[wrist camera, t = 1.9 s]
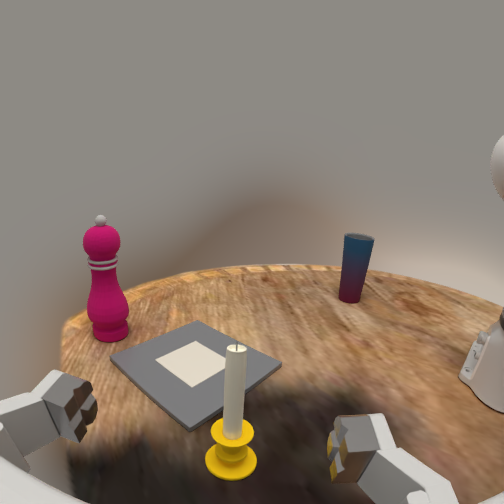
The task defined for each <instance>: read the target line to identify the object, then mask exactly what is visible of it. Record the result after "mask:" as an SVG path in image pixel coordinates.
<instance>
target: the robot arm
mask: <svg viewBox="0 0 504 504" xmlns="http://www.w3.org/2000/svg"><path fill="white" fill-rule="evenodd" d="M491 175H492V180H493V183H494V185H495V188H496V190H497V192H498V194H499V195H500V197H501V198H502V199H503V200H504V135H503V136H502V137H501V138H500V139H499V141H498V142H497V144H496V145H495V147H494V150H493V153H492V157H491ZM458 376H459V378H460V379H461V380H462V381H463V382H464V383H466V384H467V385H468V386H470V387H471V389H472V390H473V391H474V393H475V394H476V395H477V396H478V398H479V399H480V400H482V401H483V402H484V403H485V404H487V405H488V406H490V407H491V408H493V409H495V410H497V411H500V412H503V413H504V308H503V310H502V313H501V315H500V320H498V321H497V322H495V323H494V324H492V325H490V327H489V329H488V332H487V333H486V332H483V331H480V333H479V335H478V338H477V341H474V342H473V344H472V346H471V348H470V351H469V353H468V355H467V358H466V360H465V362H464V364H463V366H462V369H461V371H460V373H459V375H458ZM92 391H93V388H92V385H91V383H90V382H89V381H86V380H83V379H81V378H78V377H75V376H72V375H69V374H67V373H63V372H61V371H58V370H52V371H51V372H50V373H49V374H48V375H47V376H46V377H45V378H44V379H43V380H42V381H41V382H40V383H39V384H38V386H36V388H35V389H34V390H33V391H32V392H31V393H23V394H20V395H17V396H14V397H11V398H8V399H5V400H1V401H0V504H88V503H86V502H84V501H81V500H79V499H77V498H75V497H72V496H70V495H68V494H66V493H64V492H62V491H60V490H58V489H56V488H54V487H52V486H50V485H48V484H46V483H44V482H42V481H41V480H39V479H37V478H35V477H34V476H32V475H30V474H28V472H29V471H30V466H29V465H28V463H27V462H26V460H25V459H24V456H26V455H28V454H30V453H32V452H34V451H36V450H38V449H39V448H41V447H43V446H45V445H47V444H49V443H50V442H52V441H54V440H56V439H57V438H59V437H60V436H62V437H64V438H67V439H69V440H72V441H74V442H77V443H80V442H81V440H82V439H83V437H84V435H85V434H86V432H87V427H86V426H87V425H89V424H91V423H93V421H94V420H95V418H96V415H97V411H98V408H97V401H96V399H95V398H94V397H93V395H92V394H91V392H92ZM334 428H335V430H333V431H332V432H330V435H329V438H328V445H327V453H328V458H329V459H330V460H331V461H332V464H331V467H330V474H331V481H332V484H341V483H357V482H358V483H357V484H358V485H359V486H360V487H361V489H362V490H363V491H364V492H365V493H366V494H367V495H368V496H369V497H370V498H371V499H372V500H373V501H374V502H375V503H376V504H459V503H458V500H457V498H456V495H455V493H454V491H453V488H452V486H451V484H450V481H448V480H446V479H445V478H443V477H442V476H440V475H439V474H438V473H436V472H435V471H433V470H432V469H430V468H429V467H427V466H426V465H424V464H423V463H421V462H420V461H419V460H417V459H416V458H414V457H413V456H411V455H410V454H409V453H407V452H406V451H404V450H403V449H402V448H396V445H395V443H394V440H393V437H392V435H391V432H390V430H389V427H388V424H387V422H386V419H385V417H384V415H383V414H382V413H380V414H367V415H366V414H365V415H345V416H337V417H336V419H335V422H334ZM478 504H504V491H503V492H501V493H499V494H497V495H495V496H493V497H491V498H489V499H487V500H484V501H482V502H480V503H478Z"/></svg>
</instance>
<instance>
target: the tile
mask: <svg viewBox="0 0 504 504" xmlns="http://www.w3.org/2000/svg"><path fill="white" fill-rule="evenodd" d="M236 341H237V340H235V339H233V338H231V337H229V336H227V335H225V334H223V333H221V332H219V331H217V330H215V329H213V328H211V327H209V326H208V325H206V324H204V323H202V322H200V321H198V320H197V321H194V322H192V323H189V324H187V325H185V326H182V327H180V328H178V329H175V330H173V331H170V332H168V333H165V334H163V335H161V336H158V337H156V338H153V339H151V340H148V341H146V342H143V343H141V344H138V345H136V346H133V347H131V348H128V349H126V350H123V351H121V352H118V353H116V354H113V355H110V360H111V361H112V362H113V363H114V365H115V366H116V367H117V368H118V369H119V370H120V371H121V372H122V373H123V374H124V375H125V376H126V377H128V378H129V379H130V380H131V381H132V382H133V383H134V384H135V385H136V386H137V387H138V388H139V389H140V390H141V391H142V392H143V393H144V394H146V395H147V396H148V397H149V398H150V399H151V400H152V401H153V402H155V403H156V404H157V405H158V406H159V407H160V408H161V409H163V410H164V411H165V412H166V413H167V414H168V415H170V416H171V417H172V418H173V419H174V420H176V421H177V422H178V423H179V424H181V425H182V426H183V427H184V428H186V429H187V430H188V431H189V432H191V431H193V430H194V429H196V428H198V427H199V426H201V425H202V424H204V423H205V422H207V421H208V420H209V419H211V418H212V417H214V416H215V415H217V414H218V413H220V412H221V411H223V410H224V383H225V361H226V350H227V347H228V346H229V345H236ZM238 345H242V346H245V347H246V348H247V363H246V379H245V394H246V393H248V392H249V391H250V390H252V389H253V388H254V387H256V386H257V385H258V384H260V383H261V382H262V381H264V380H265V379H266V378H267V377H269V376H270V375H271V374H273V373H274V372H275V371H276V370H278V369H279V368H280V367H281V366H282V362H280V361H278V360H276V359H274V358H272V357H269V356H267V355H265V354H263V353H261V352H259V351H257V350H255V349H253V348H251V347H249V346H247V345H245V344H243V343H241V342H239V341H238ZM245 394H244V395H245Z"/></svg>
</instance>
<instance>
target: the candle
mask: <svg viewBox="0 0 504 504" xmlns="http://www.w3.org/2000/svg"><path fill="white" fill-rule="evenodd" d="M246 363H247V348H246V347H245V346H242V345H238V341H236V345H229V346H228V347H227V350H226V361H225V383H224V411H223V418H222V419H220V420H217V421H216V422H215V423H214V424H213V426H212V428H211V435H212V437H213V439H214V440H215V441H216V442H217V444H216V445H214V446H212V447H211V448H210V449H209V450H208V452H207V453H206V457H205V462H206V466H207V468H208V470H209V471H210V472H211V473H212V474H213V475H214V476H216V477H218V478H220V479H223V480H229V481H234V480H240V479H244V478H246V477H248V476H249V475H250V474H251V473H252V472H253V471H254V470H255V467H256V463H257V458H256V455H255V453H254V452H253V450H252V449H251V448H249V447H248V446H247V445H246V444H247V443H249V442H250V441H251V440H252V438H253V435H254V431H253V427H252V426H251V424H249V423H248V422H247V421H245V420H243V408H244V394H245V379H246Z"/></svg>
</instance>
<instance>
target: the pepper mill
mask: <svg viewBox="0 0 504 504" xmlns="http://www.w3.org/2000/svg"><path fill="white" fill-rule="evenodd" d="M95 223H96V225H97V226H94V227H91V228H90V229H89V230H88V231H87V232H86V233H85V235H84V238H83V247H84V250H85V252H86V253H87V254H88V255H89V257H88V259H87V260H88V267H89V268H90V269H91V273H92V285H91V291H90V294H89V298H88V303H87V313H88V317H89V319H90V320H91V321H92V322H93V332H94V336H95V337H96V338H97V339H98V340H100V341H103V342H116V341H119V340H122V339H123V338H125V337H126V336H127V334H128V323H127V321H126V320H125V319H126V318H127V316H128V314H129V308H128V303H127V300H126V298H125V296H124V294H123V292H122V290H121V288H120V286H119V284H118V281H117V276H116V266H117V265H118V260H117V259H118V256H117V255H116V253H117V251H118V250H119V247H120V237H119V234H118V232H117V231H116V230H115V229H114V228H113V227H111V226H108V225H105V224H106V218H105V217H104V216H103V215H99V216H97V217H96V219H95Z"/></svg>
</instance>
